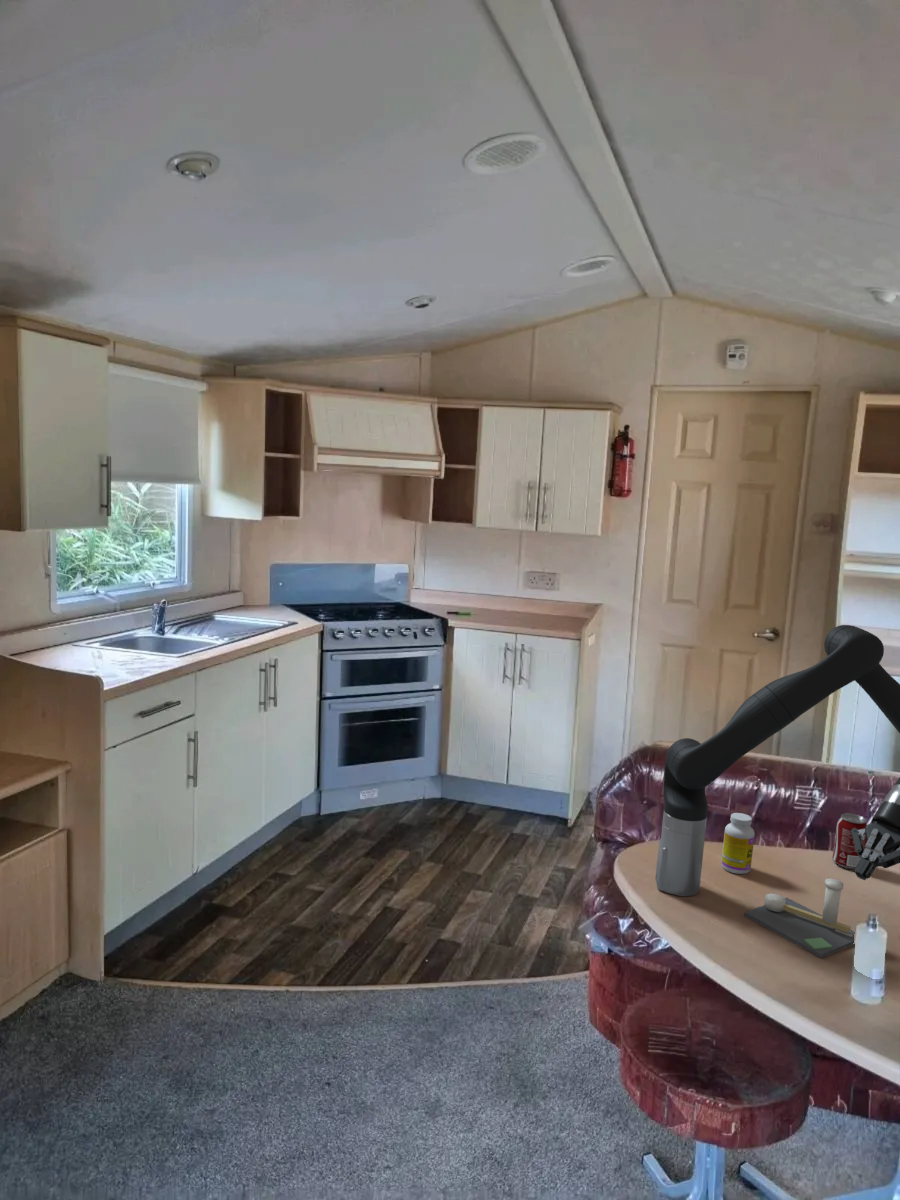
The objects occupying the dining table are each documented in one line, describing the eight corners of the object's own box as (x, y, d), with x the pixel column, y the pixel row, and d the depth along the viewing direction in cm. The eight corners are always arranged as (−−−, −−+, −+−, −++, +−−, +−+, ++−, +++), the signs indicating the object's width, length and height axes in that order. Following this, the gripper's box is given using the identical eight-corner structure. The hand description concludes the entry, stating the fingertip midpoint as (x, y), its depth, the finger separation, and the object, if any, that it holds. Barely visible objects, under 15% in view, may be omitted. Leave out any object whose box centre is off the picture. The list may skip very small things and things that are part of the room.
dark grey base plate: (821, 958, 167) (822, 952, 167) (744, 915, 182) (744, 910, 181) (863, 940, 174) (864, 935, 174) (786, 900, 189) (786, 896, 189)
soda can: (865, 873, 206) (872, 825, 204) (835, 868, 207) (841, 821, 205) (858, 861, 212) (864, 814, 210) (829, 857, 213) (835, 810, 212)
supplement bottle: (748, 877, 199) (754, 824, 198) (718, 870, 202) (724, 818, 200) (751, 866, 205) (757, 815, 204) (723, 859, 208) (728, 809, 206)
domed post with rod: (761, 907, 183) (766, 864, 182) (768, 900, 186) (773, 858, 185) (846, 937, 173) (852, 892, 171) (852, 929, 176) (858, 885, 174)
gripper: (865, 791, 189) (825, 854, 184) (926, 812, 178) (884, 881, 173) (876, 810, 193) (836, 873, 188) (936, 832, 182) (896, 900, 177)
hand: (860, 876), depth 181 cm, fingers closed
